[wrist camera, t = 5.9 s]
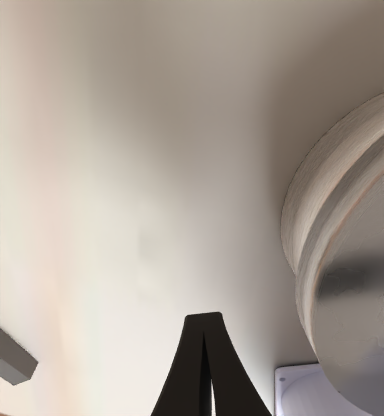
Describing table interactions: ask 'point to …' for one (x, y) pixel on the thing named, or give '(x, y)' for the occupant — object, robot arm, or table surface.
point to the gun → (15, 361)
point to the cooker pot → (327, 172)
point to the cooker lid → (348, 283)
